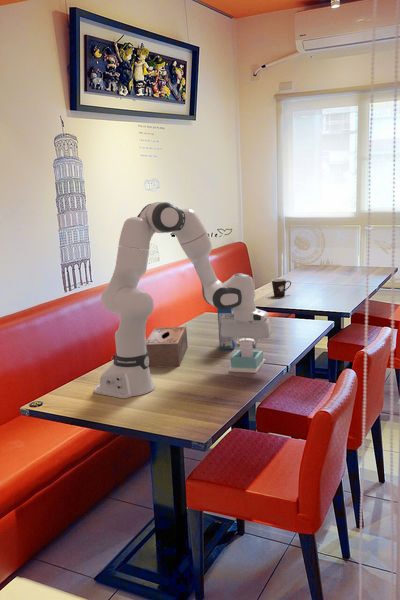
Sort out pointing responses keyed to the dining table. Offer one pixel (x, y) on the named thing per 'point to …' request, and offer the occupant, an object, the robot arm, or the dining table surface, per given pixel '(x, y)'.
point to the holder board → (247, 362)
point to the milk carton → (225, 342)
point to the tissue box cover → (167, 346)
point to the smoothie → (246, 347)
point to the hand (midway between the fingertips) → (246, 347)
